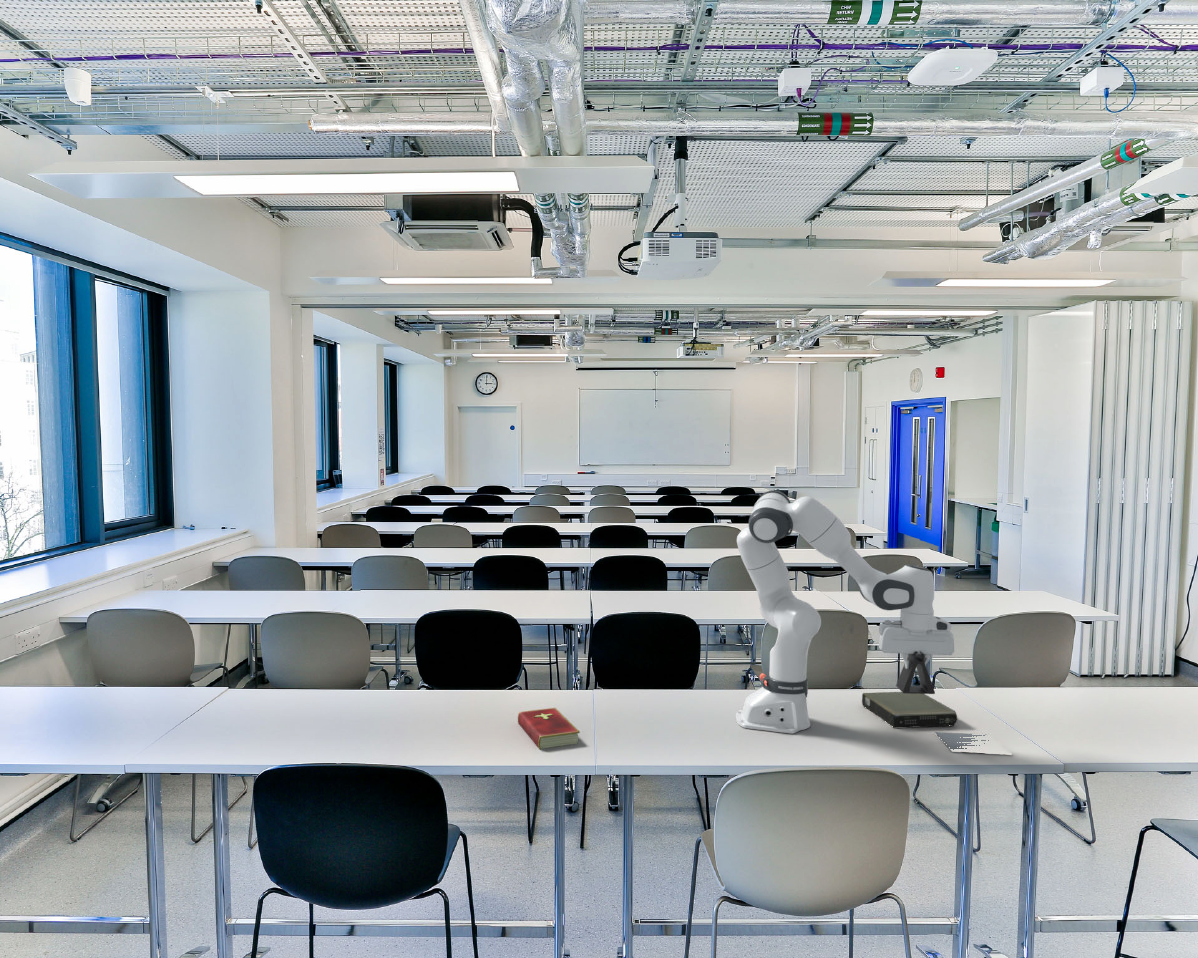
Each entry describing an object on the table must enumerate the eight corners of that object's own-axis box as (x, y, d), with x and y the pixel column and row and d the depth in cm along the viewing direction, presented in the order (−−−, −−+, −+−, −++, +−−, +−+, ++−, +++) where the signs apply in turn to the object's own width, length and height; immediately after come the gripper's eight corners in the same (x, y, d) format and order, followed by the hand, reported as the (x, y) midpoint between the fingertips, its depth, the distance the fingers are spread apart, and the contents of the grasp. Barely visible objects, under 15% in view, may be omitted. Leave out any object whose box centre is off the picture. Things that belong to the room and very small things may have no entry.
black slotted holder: (902, 693, 213) (903, 651, 213) (895, 686, 219) (896, 646, 219) (935, 694, 212) (935, 652, 212) (927, 687, 218) (928, 646, 218)
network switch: (915, 702, 252) (915, 687, 252) (965, 727, 230) (966, 711, 229) (854, 707, 246) (855, 692, 246) (900, 733, 224) (901, 717, 223)
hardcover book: (538, 750, 206) (538, 735, 206) (517, 724, 225) (517, 711, 225) (579, 745, 210) (579, 730, 210) (555, 720, 230) (555, 706, 230)
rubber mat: (952, 752, 209) (952, 750, 209) (934, 733, 223) (934, 731, 223) (1012, 755, 207) (1012, 753, 207) (990, 736, 221) (990, 734, 221)
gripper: (882, 622, 213) (881, 670, 213) (957, 624, 211) (955, 673, 211) (876, 617, 219) (875, 664, 220) (949, 619, 217) (947, 666, 218)
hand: (915, 668), depth 215 cm, fingers closed on black slotted holder, 2 cm apart
